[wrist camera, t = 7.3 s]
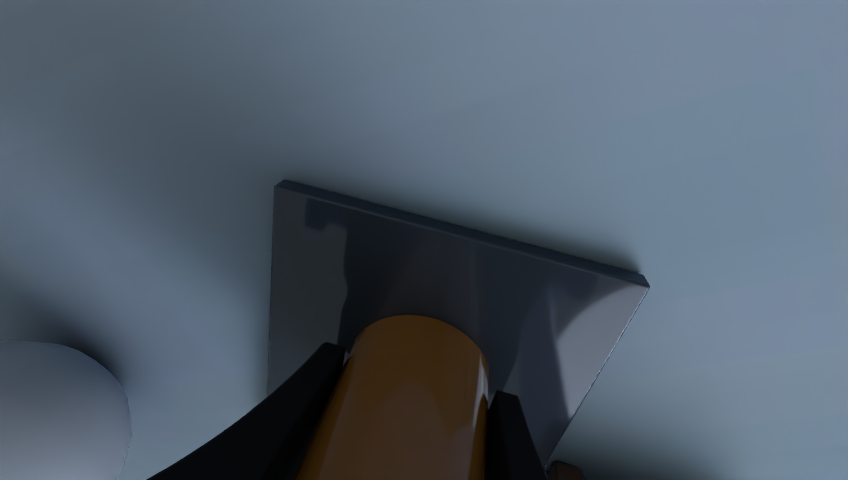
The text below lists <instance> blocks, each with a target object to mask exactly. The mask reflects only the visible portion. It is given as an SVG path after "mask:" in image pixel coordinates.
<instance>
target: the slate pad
mask: <svg viewBox="0 0 848 480" xmlns="http://www.w3.org/2000/svg"><path fill="white" fill-rule="evenodd" d="M649 288H650V285H649V283H648V282H647V280H646V278H645V276H644V275H642V274H638V273H634V272H631V271H627V270H623V269H619V268H616V267H612V266H608V265H604V264H600V263H597V262H593V261H589V260H585V259H582V258H578V257H574V256H570V255H567V254H563V253H559V252H555V251H552V250H548V249H544V248H540V247H536V246H533V245H529V244H525V243H521V242H518V241H514V240H510V239H506V238H503V237H499V236H495V235H491V234H488V233H484V232H480V231H476V230H472V229H469V228H465V227H461V226H457V225H454V224H450V223H446V222H442V221H439V220H435V219H431V218H427V217H424V216H420V215H416V214H412V213H408V212H405V211H401V210H397V209H393V208H390V207H386V206H382V205H378V204H375V203H371V202H367V201H363V200H360V199H356V198H352V197H348V196H344V195H341V194H337V193H333V192H329V191H326V190H322V189H318V188H314V187H311V186H307V185H303V184H299V183H295V182H292V181H288V180H282V181H281V182H280V183H278V184H277V185H276V186H275V187H274V207H273V236H272V265H271V294H270V323H269V352H268V381H267V397H268V396H269V395H270V394H271V393H273V392H274V391H275V390H276V389H277V388H278V387H279V386H280V385H281V384H283V383H284V382H285V381H286V380H287V379H288V378H289V377H290V376H291V375H292V374H293V373H295V372H296V371H297V370H298V369H299V368H300V367H301V366H302V365H303V364H304V363H305V362H306V361H307V360H308V359H309V358H310V357H311V356H312V354H313V353H314V352H315V351H316V350H317V349H318V348H319V347H320V346H321V345H322V344H323V343H325V342H329V343H332V344H336V345H339V346H343V347H346V350H345V356H344V363H345V361H346V359H347V357H348V354H349V352H350V350H351V348H352V346H353V344H354V341H355V340H356V338H357V337H358V335H359V334H360V333H361V332H362V331H363V330H364V329H365V328H367V327H368V326H369V325H371V324H372V323H374V322H376V321H378V320H381V319H384V318H386V317H391V316H395V315H421V316H427V317H432V318H435V319H438V320H441V321H444V322H446V323H448V324H450V325H452V326H454V327H456V328H458V329H459V330H461V331H462V332H463V333H465V334H466V335H467V336H468V337H469V338H471V339H472V340H473V341H474V342H475V344H476V345H477V346H478V347H479V349H480V350H481V352H482V354H483V355H484V357H485V360H486V362H487V365H488V370H489V398H488V409H489V407H490V405H491V402H492V400H493V398H494V395H495V393H496V391H497V390H499V391H503V392H506V393H510V394H513V395H517V396H518V397H519V399H520V402H521V405H522V409H523V412H524V415H525V418H526V421H527V424H528V427H529V430H530V433H531V436H532V439H533V441H534V444H535V447H536V449H537V452H538V455H539V457H540V460H541V462H542V465H543V467H544V466H545V464H546V463H547V461H548V459H549V458H550V456H551V454H552V453H553V451H554V449H555V447H556V446H557V444H558V442H559V441H560V439H561V437H562V436H563V434H564V432H565V431H566V429H567V427H568V425H569V424H570V422H571V420H572V419H573V417H574V415H575V414H576V412H577V410H578V409H579V407H580V405H581V403H582V402H583V400H584V398H585V397H586V395H587V393H588V392H589V390H590V388H591V387H592V385H593V383H594V381H595V380H596V378H597V376H598V375H599V373H600V371H601V370H602V368H603V366H604V365H605V363H606V361H607V359H608V358H609V356H610V354H611V353H612V351H613V349H614V348H615V346H616V344H617V343H618V341H619V339H620V337H621V336H622V334H623V332H624V331H625V329H626V327H627V326H628V324H629V322H630V321H631V319H632V317H633V315H634V314H635V312H636V310H637V309H638V307H639V305H640V304H641V302H642V300H643V299H644V297H645V295H646V293H647V292H648V290H649ZM344 363H343V365H344Z"/></svg>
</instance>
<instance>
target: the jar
mask: <svg viewBox="0 0 848 480" xmlns="http://www.w3.org/2000/svg"><path fill="white" fill-rule="evenodd" d="M488 398H489V370H488V365H487V362H486V360H485V357H484V355H483V354H482V352H481V350H480V349H479V347H478V346H477V345H476V344H475V342H474V341H473V340H472V339H471V338H469V337H468V336H467V335H466V334H465V333H463V332H462V331H461V330H459V329H458V328H456V327H454V326H452V325H450V324H448V323H446V322H444V321H441V320H438V319H435V318H432V317H427V316H421V315H395V316H391V317H386V318H384V319H381V320H378V321H376V322H374V323H372V324H371V325H369V326H368V327H367V328H365V329H364V330H363V331H362V332H361V333H360V334H359V335H358V337H357V338H356V340H355V341H354V344H353V346H352V348H351V350H350V352H349V354H348V357H347V359H346V361H345V363H344V365H343V368H342V370H341V372H340V374H339V376H338V378H337V381H336V383H335V385H334V387H333V389H332V392H331V394H330V396H329V398H328V400H327V402H326V405H325V407H324V409H323V411H322V413H321V416H320V418H319V420H318V422H317V424H316V427H315V429H314V431H313V433H312V435H311V437H310V440H309V442H308V444H307V446H306V448H305V451H304V453H303V455H302V457H301V459H300V461H299V464H298V466H297V468H296V470H295V472H294V475H293V477H292V479H291V480H486V455H487V427H488Z"/></svg>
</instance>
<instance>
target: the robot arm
mask: <svg viewBox="0 0 848 480" xmlns="http://www.w3.org/2000/svg"><path fill="white" fill-rule="evenodd" d="M345 350H346V347H343V346H339V345H336V344H332V343H329V342H325V343H323V344H322V345H321V346H320V347H319V348H318V349H317V350H316V351H315V352H314V353H313V354H312V356H311V357H310V358H309V359H308V360H307V361H306V362H305V363H304V364H303V365H302V366H301V367H300V368H299V369H298V370H297V371H296V372H295V373H293V374H292V375H291V376H290V377H289V378H288V379H287V380H286V381H285V382H284V383H283V384H281V385H280V386H279V387H278V388H277V389H276V390H275V391H274V392H273V393H271V394H270V395H269V396H268V397H267V398H265V399H264V400H263V401H262V402H261V403H259V404H258V405H257V406H256V407H254V408H253V409H252V410H251V411H250V412H248V413H247V414H246V415H245V416H243V417H242V418H241V419H239V420H238V421H237V422H235V423H234V424H233V425H231V426H230V427H229V428H227V429H226V430H224V431H223V432H222V433H220V434H219V435H217V436H216V437H215V438H213V439H212V440H210V441H209V442H207V443H206V444H204V445H203V446H201V447H200V448H198V449H196V450H195V451H193V452H192V453H190V454H189V455H187V456H186V457H184V458H183V459H181V460H179V461H178V462H176V463H174V464H173V465H171V466H170V467H168V468H166V469H164V470H163V471H161V472H159V473H157V474H156V475H154V476H152V477H150V478H148V479H147V480H291V479H292V477H293V475H294V472H295V470H296V468H297V466H298V464H299V461H300V459H301V457H302V455H303V453H304V451H305V448H306V446H307V444H308V442H309V440H310V437H311V435H312V433H313V431H314V429H315V427H316V424H317V422H318V420H319V418H320V416H321V413H322V411H323V409H324V407H325V405H326V402H327V400H328V398H329V396H330V394H331V392H332V389H333V387H334V385H335V383H336V381H337V378H338V376H339V374H340V372H341V370H342V368H343V363H344V356H345ZM486 480H549V479H548V477H547V475H546V472H545V470H544V467H543V465H542V462H541V460H540V457H539V455H538V452H537V449H536V447H535V444H534V441H533V439H532V436H531V433H530V430H529V427H528V424H527V421H526V418H525V415H524V412H523V409H522V405H521V402H520V399H519V397H518V396H517V395H513V394H510V393H506V392H503V391H499V390H497V391H496V393H495V395H494V398H493V400H492V402H491V405H490V407H489V409H488V427H487V455H486Z"/></svg>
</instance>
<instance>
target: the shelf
mask: <svg viewBox="0 0 848 480" xmlns="http://www.w3.org/2000/svg"><path fill="white" fill-rule="evenodd" d="M547 477H548V479H549V480H583V477H582V471H581V469H580V468H577V467H573V466H570V465H566V464H563V463H559V462H554V464H553V466H552V467H551V469H550V471H549V472H548V474H547Z"/></svg>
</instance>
